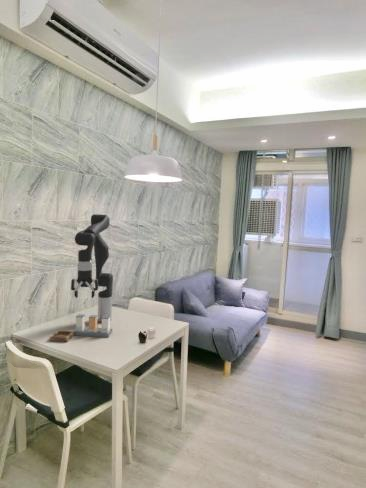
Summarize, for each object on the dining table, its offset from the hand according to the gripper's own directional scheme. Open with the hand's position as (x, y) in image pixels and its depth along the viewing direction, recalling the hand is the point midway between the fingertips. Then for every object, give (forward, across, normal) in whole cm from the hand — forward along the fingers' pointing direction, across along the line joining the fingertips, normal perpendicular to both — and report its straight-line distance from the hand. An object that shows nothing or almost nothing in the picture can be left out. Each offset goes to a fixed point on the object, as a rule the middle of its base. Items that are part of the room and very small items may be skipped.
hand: (84, 297), depth 179 cm
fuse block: (+28, -2, -16) cm, 32 cm away
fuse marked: (+26, -2, -17) cm, 31 cm away
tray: (+27, +14, -9) cm, 32 cm away
